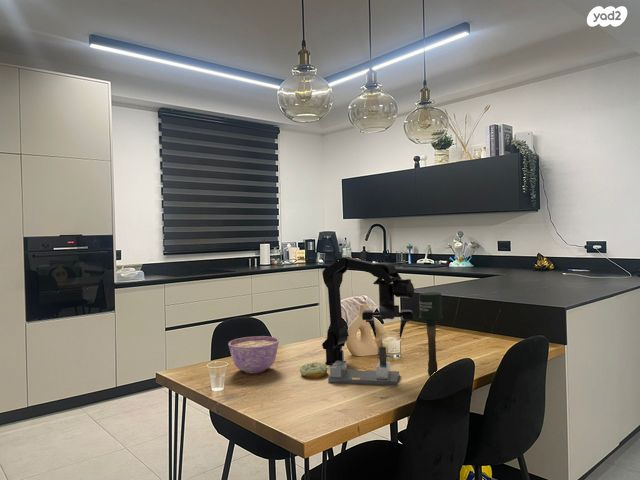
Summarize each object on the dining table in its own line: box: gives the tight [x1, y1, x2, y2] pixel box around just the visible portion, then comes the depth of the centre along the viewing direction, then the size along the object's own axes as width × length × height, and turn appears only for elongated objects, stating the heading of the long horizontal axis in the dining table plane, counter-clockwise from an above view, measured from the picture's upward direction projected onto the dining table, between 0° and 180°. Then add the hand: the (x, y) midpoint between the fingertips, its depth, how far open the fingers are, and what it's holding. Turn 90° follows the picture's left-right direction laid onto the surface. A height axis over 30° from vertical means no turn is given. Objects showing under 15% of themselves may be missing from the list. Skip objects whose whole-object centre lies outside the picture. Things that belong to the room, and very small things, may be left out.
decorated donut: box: [299, 362, 328, 379], centre depth 180 cm, size 10×11×4 cm
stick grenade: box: [418, 291, 444, 377], centre depth 173 cm, size 8×9×30 cm
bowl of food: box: [228, 335, 280, 374], centre depth 189 cm, size 20×20×12 cm
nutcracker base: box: [327, 360, 400, 387], centre depth 172 cm, size 24×12×5 cm, turn 75°
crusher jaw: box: [375, 346, 391, 379], centre depth 170 cm, size 4×8×10 cm, turn 165°
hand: (388, 337), depth 179 cm, fingers open, 9 cm apart
